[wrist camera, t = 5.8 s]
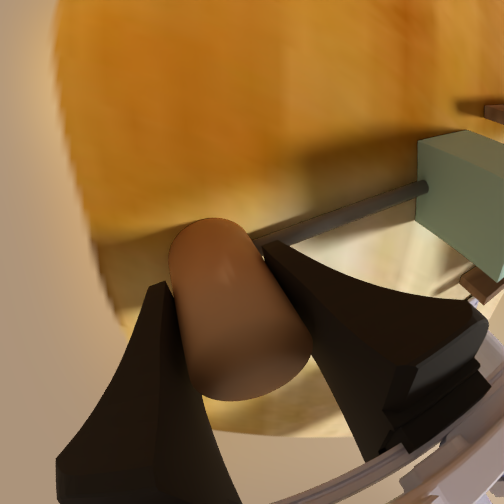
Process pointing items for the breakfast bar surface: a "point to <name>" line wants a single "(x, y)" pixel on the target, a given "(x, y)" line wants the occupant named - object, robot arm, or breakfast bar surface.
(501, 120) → the walnut rack
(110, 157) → the breakfast bar surface
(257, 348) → the tethered block
